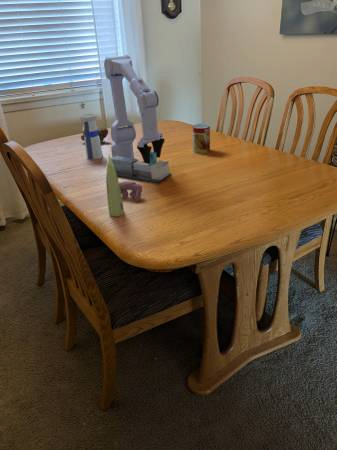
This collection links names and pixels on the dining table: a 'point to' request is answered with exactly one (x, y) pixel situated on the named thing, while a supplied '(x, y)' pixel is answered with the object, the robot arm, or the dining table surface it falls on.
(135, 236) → the dining table surface
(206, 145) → the canned food
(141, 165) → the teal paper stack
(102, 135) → the decorative turtle
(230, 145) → the dining table surface
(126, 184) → the video game controller
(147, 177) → the grey long angular block
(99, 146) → the water bottle
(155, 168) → the socket
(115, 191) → the tube
